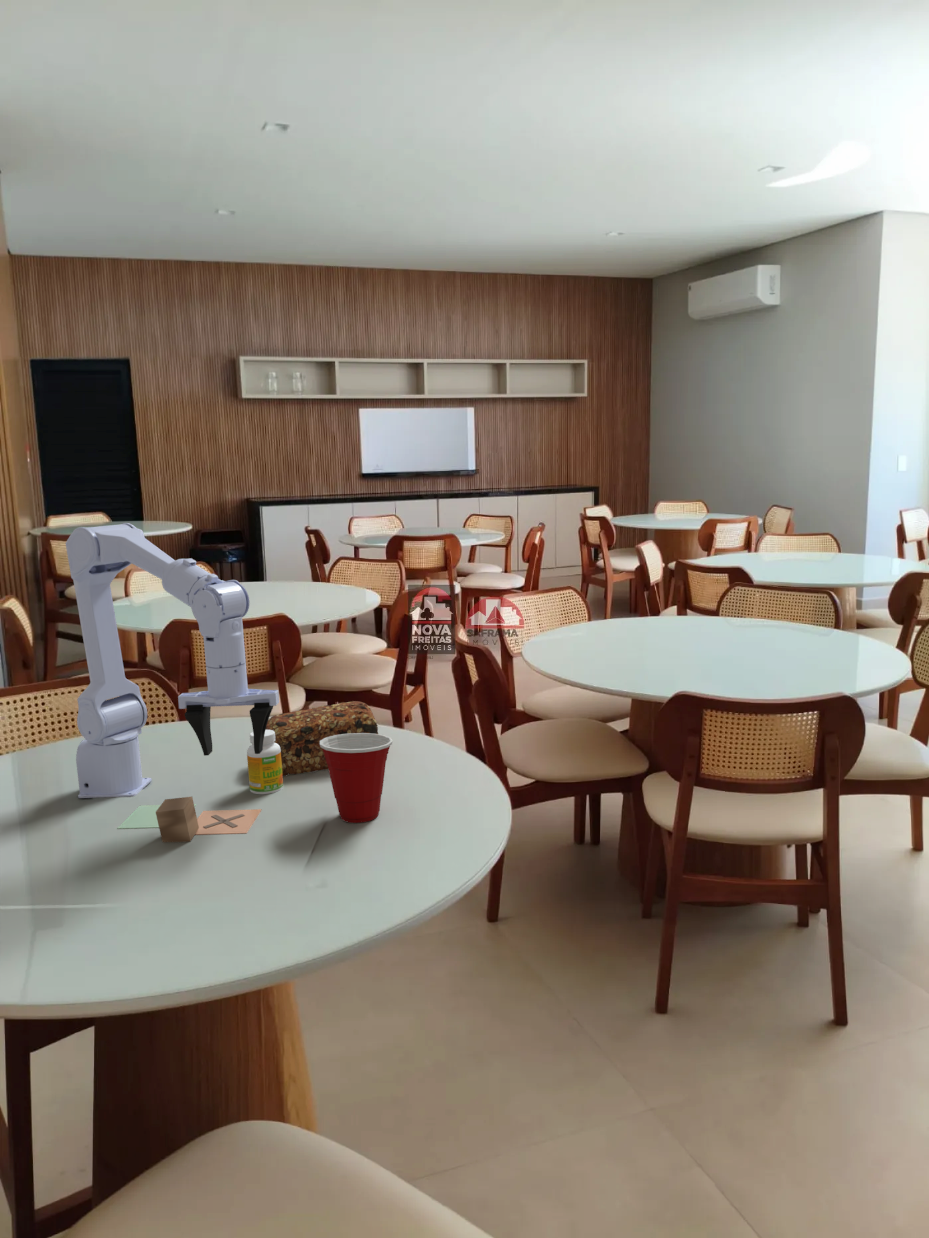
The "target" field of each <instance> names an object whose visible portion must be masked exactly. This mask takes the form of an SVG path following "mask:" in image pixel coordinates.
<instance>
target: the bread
mask: <svg viewBox="0 0 929 1238" xmlns="http://www.w3.org/2000/svg"><path fill="white" fill-rule="evenodd" d="M378 727H379V726H378V724H377V720H376V718H375V715H374V714H373V712H372V708H371V707H370V706H369V705H368V704H367V703H365V702H362V701H358V700H357V701H356V700H355V701H354V700H352V701H348V702H339V703H336V704H331V705H321V706H318V707H317V706H316V707H312V708H307V709H301V710H295V711H290V712H285V713H280V714H275V715H273V716H271V717H269V719H268V722H267V726H266V730H273V731H274V732H275V741H274V743H277V744H278V745H279V746H280V749H281V761H282V775H283V777H285V776H286V775H287V776H289V775H299V774H304V773H315V772H319V771H326V770H329V769H328V765H327V763H326V758H325V756H324V752H323V750H322V748H321V747H320V740H322V739H324V738H326V737H330V736H334V735H341V734H349V733H371V734H379V731H378V730H379V728H378Z"/></svg>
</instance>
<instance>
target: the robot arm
mask: <svg viewBox="0 0 929 1238" xmlns="http://www.w3.org/2000/svg"><path fill="white" fill-rule="evenodd" d="M65 549H66V555H67V560H68V561H67V562H68V566H69V572H70V578H71V579H72V580H73V585H74V591H75V598H76V604H77V610H78V616H79V622H80V628H81V635H82V639H83V646H84V650H85V659H86V663H87V668H88V669H87V670H88V675H89V681H90V682H89V684H88V685H87V686H86V688H85V689H84V690H83V691H82V692H81V694H80V695H79V696H78V697H77V700H76V701H77V705H78V706H77V707H78V711H77V712H78V713H77V718H76V722H77V723H76V724H77V729H78V732H79V733H80V735H81V736H82V738H84V739H83V740H81V741H80V743H79V744H78V746H77V749H76V754H75V755H76V756H75V757H76V758H75V761H76V772H77V779H78V789H79V794H78V795H77V798H78V799H93V798H117V797H118V798H120V797H123V798H124V797H127V798H128V797H135V796H137V795H138V794H139V793H140V792H141V791H142V790H144V789H145V788H146V786H148V784H150V783H151V782H152V780H153V779H152V778H151V777H143V770H142V762H141V761H142V760H141V759H142V758H141V752H140V751H141V750H140V742H139V741H140V740H139V735H141V734H142V733H143V732H142V728H143V727H144V726H145V724H146V723H147V720H148V709H147V706H146V703H145V702H144V700H143V697H142V695H141V690H140V686H139V685H138V684H137V683H135V682H133V681H131V680H130V679H127V678H126V675H125V667H124V662H123V655H122V650H121V641H120V636H119V631H118V624H117V620H116V612H115V607H114V606H115V605H114V601H113V595H112V588H111V584H112V582H113V580H114V579H115V578H116V576H117V575H118V574H119V573H121V572H122V571H124V570H126V569H127V567H129V566H131V565H134V566H136V567H138V568H140V569H141V570H143V571H144V572H147V573H148V574H150V575H152V576H154V577H156V578H158V579H160V580H161V585H162V588H163V590H164V591H165V592H166V593H168V594H170V595H171V596H172V597H174V598H176V599H177V600H179V601H180V602H182V603H183V604H185V605H187V606H188V607H190V609H191V611H192V612H191V613H192V614H193V616H194V618H195V620H196V621H197V624H198V629H199V630H198V631H199V633H200V635H201V636H202V638H203V646H204V647H203V649H204V657H205V658H204V659H205V670H206V671H205V672H206V682H207V683H206V684H207V690H203V691H195V692H193V691H192V692H182V693H181V694H180V695H178V696H177V698H178V699H177V700H178V709H179V710H182V709H183V710H184V709H186V712H185V713H184V717H185V720H186V721H187V723H188V724H189V725H190V726H191V728H192V729H193V731H194V733H195V735H196V737H197V740H198V742H199V744H200V747H201V750H202V753H203V756H210V754H211V753H212V752H213V739H212V731H211V709H212V708H211V707H213V708H215V707H238V706H239V707H240V706H253V707H252V708H250V710H249V717H250V720H251V721H250V722H251V725H252V726H251V727H252V732H253V734H254V751H255V754H260V753H261V752H262V750H263V740H264V734H265V730H266V726H267V722H268V720H269V719H270V718H271V717H270V716H271V714H272V711H273V709H274V707H276V706H277V705H278V704H279V703H280V695H279V689H256V688H249V687H248V686H249V685H248V675H247V673H248V672H247V663H246V662H247V661H246V648H245V639H244V638H245V637H244V625H243V618H244V617H245V616H246V615H247V614H248V612H249V609H250V604H251V603H250V597H249V594H248V591H247V589H246V588H245V586H244V585H242V583H240V582H239V581H238V580H236V579H230V580H223V579H222V580H221V579H220V578H219V576H218V575H217V574H215V573H210V572H209V571H207V570H205V569H204V568H201V566H199V565H197V561H196V560H195V559H193V558H192V557H191V558H178V559H174V558H172V557H171V556H170V555H168V554H167V553H166V552H165V551H163V550H161V549H160V548H159V547H157V545H155V544H154V543H152V542H151V541H150V540H148V539H147V538H146V537H145V534H144V531H143V530H142V529H141V528H138V527H136V526H135V525H133V524H132V523H128V522H124V523H120V524H111V525H109V524H108V525H99V526H88V527H86V526H78V527H76V528H75V529H73V531H72V532H71V533H70V535H69V537H68V538H67V540H66V542H65Z"/></svg>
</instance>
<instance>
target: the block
mask: <svg viewBox="0 0 929 1238" xmlns="http://www.w3.org/2000/svg"><path fill="white" fill-rule="evenodd" d="M194 804H195V803H194V799H193V796H185V797H175V798H167V799H164V800H163V802H162V803H161V804H160V805H161V806H160V807H159V808H158V810H157V811H156V816H157V821H158V825H159V828H158V829H159V834H160V838H161V842H162V843H184V842H185V843H186V842H191V841H192V840H193V839H194V836H196V835H195V833H196V832H197V830H198V829H199V825H198V821H197V818H198V817H197V812H196V806H195V807H194Z"/></svg>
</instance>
